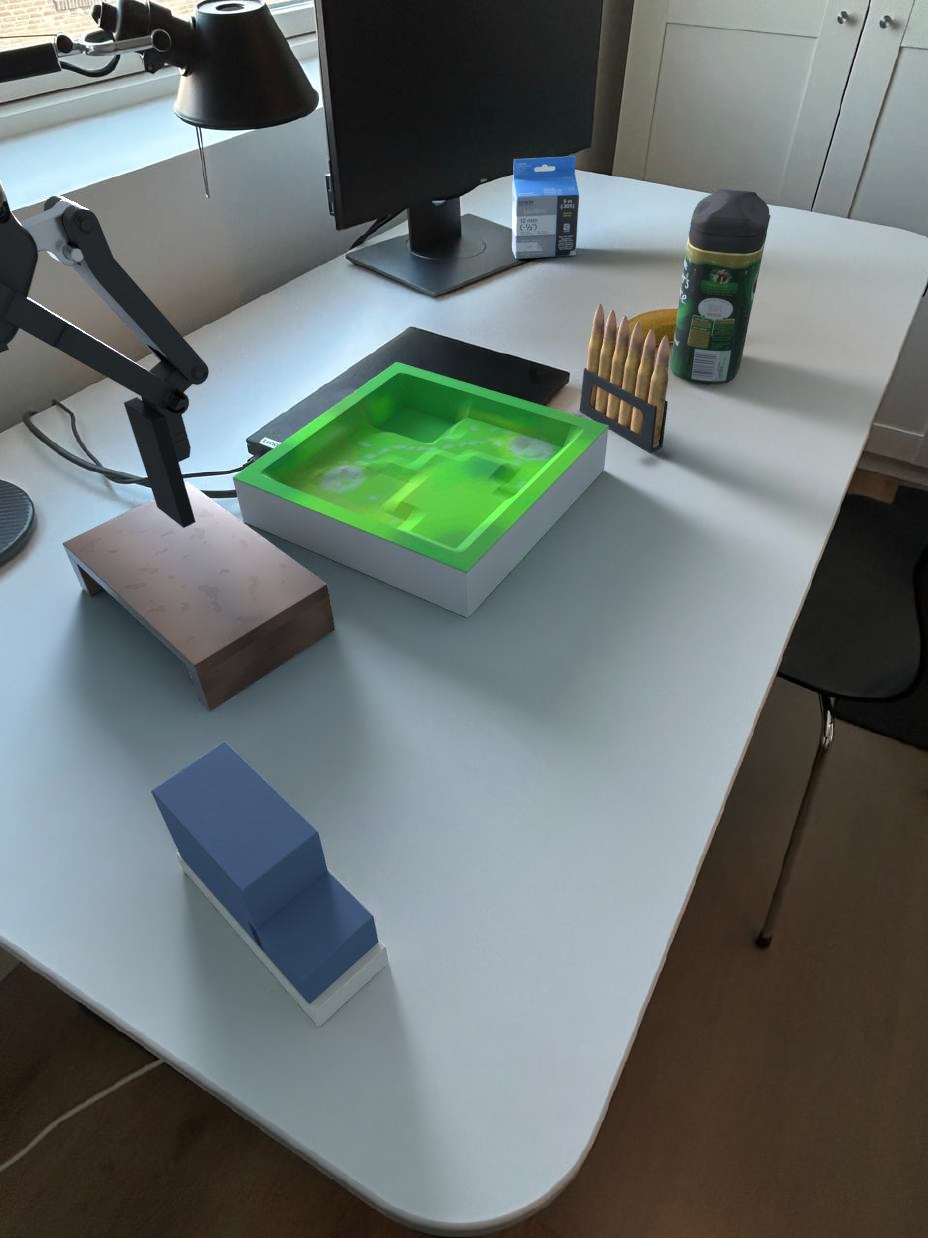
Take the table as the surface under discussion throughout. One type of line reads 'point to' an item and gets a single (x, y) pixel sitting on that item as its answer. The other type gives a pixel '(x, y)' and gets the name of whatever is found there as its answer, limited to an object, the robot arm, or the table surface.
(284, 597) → the shelf
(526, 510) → the tray
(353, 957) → the block
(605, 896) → the table surface
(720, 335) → the coffee jar
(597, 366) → the ammunition clip
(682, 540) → the table surface
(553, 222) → the label tape box
